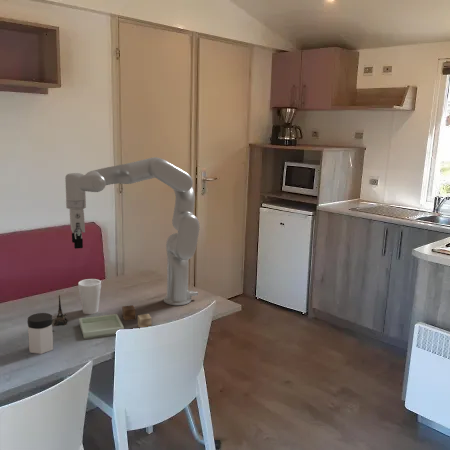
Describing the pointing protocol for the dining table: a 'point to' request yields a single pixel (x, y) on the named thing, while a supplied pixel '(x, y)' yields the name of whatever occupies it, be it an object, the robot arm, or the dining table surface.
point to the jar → (40, 333)
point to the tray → (100, 326)
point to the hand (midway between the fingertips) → (77, 245)
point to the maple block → (144, 320)
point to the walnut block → (128, 312)
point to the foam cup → (89, 295)
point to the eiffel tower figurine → (59, 317)
